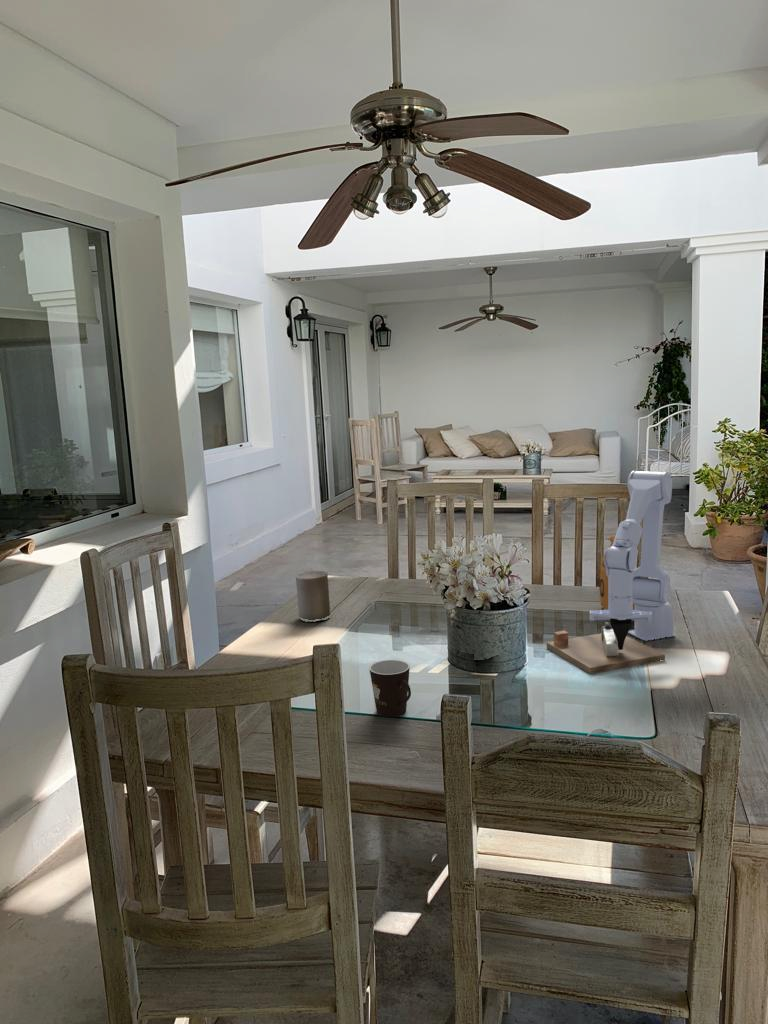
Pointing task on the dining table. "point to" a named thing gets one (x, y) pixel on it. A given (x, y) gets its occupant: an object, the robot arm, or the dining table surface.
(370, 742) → the dining table surface
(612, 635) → the bar
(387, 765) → the dining table surface
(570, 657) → the brown wooden board
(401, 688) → the coffee mug
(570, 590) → the dining table surface
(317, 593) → the pillar candle
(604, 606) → the coffee package
